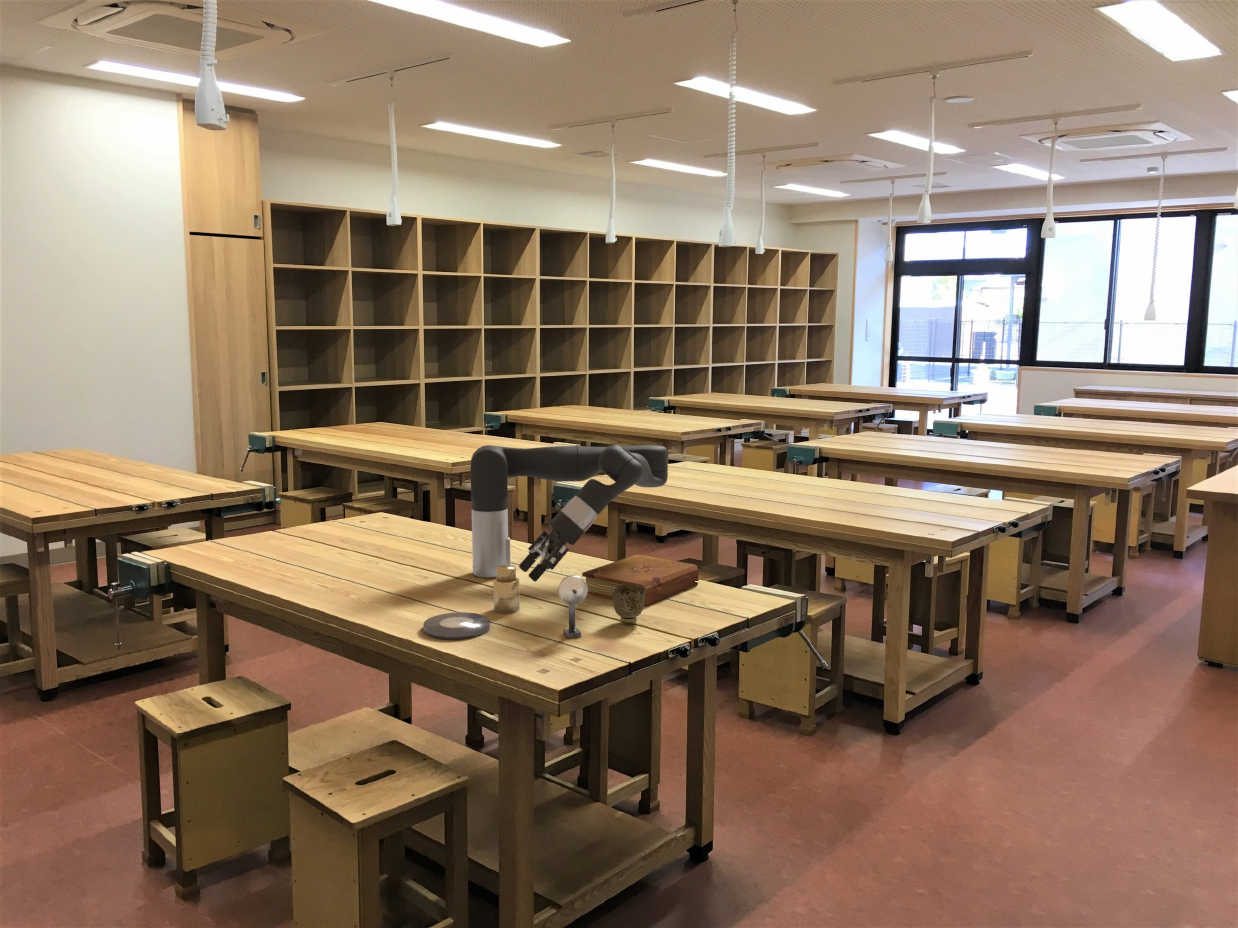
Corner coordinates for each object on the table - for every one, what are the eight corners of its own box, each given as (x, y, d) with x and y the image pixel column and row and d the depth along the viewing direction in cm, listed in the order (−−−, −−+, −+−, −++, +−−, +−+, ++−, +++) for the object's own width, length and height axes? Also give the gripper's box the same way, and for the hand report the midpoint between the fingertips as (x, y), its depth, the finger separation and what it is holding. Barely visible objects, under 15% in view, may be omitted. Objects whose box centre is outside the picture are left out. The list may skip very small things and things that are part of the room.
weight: (516, 605, 220) (515, 563, 218) (522, 612, 214) (521, 569, 213) (491, 607, 218) (490, 565, 216) (496, 614, 212) (495, 571, 211)
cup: (626, 615, 212) (626, 580, 211) (652, 622, 207) (652, 586, 206) (604, 623, 206) (604, 588, 205) (631, 630, 202) (631, 594, 200)
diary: (645, 609, 219) (645, 585, 218) (582, 595, 230) (582, 572, 229) (698, 586, 237) (698, 564, 236) (637, 574, 248) (637, 553, 247)
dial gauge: (583, 631, 201) (583, 572, 199) (589, 637, 197) (589, 576, 195) (556, 634, 199) (555, 574, 197) (561, 640, 195) (561, 579, 193)
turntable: (483, 616, 211) (482, 609, 211) (496, 635, 198) (496, 628, 198) (419, 622, 207) (419, 615, 206) (428, 642, 194) (428, 635, 193)
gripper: (594, 537, 212) (546, 592, 210) (575, 524, 225) (529, 576, 223) (571, 516, 209) (522, 572, 207) (553, 504, 222) (507, 556, 220)
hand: (526, 574), depth 215 cm, fingers open, 8 cm apart
